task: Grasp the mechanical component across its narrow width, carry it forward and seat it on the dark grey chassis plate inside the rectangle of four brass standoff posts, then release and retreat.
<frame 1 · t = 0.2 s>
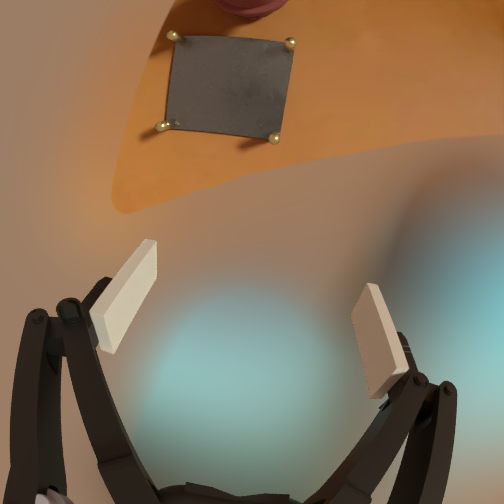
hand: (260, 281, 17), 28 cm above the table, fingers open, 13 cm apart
mechanical component: (255, 3, 27), on the table
chassis: (227, 83, 34), on the table
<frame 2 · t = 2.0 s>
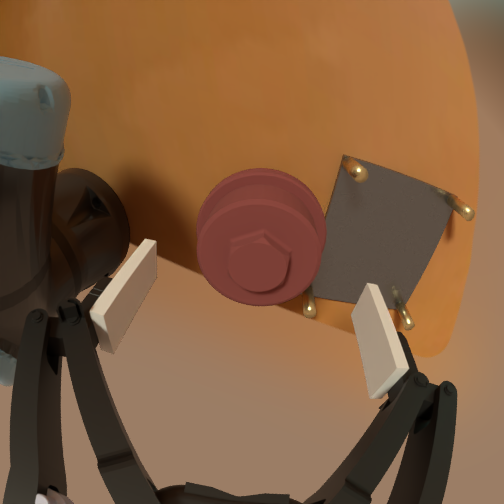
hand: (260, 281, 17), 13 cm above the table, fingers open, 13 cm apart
mechanical component: (264, 199, 28), on the table
chassis: (381, 244, 29), on the table
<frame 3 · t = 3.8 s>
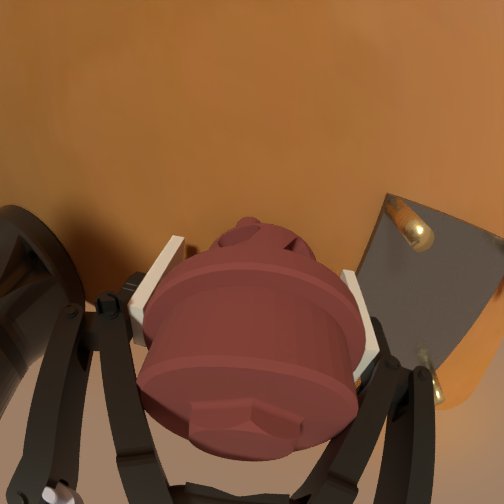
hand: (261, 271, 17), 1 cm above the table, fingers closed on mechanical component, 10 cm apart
mechanical component: (262, 259, 19), on the table, touching gripper
chassis: (420, 312, 20), on the table
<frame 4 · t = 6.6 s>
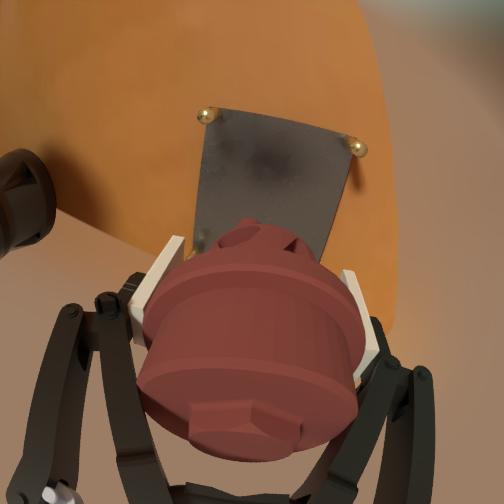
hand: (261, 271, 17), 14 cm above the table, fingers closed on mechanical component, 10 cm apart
mechanical component: (262, 260, 19), point 13 cm above the table, touching gripper
chassis: (268, 196, 29), on the table
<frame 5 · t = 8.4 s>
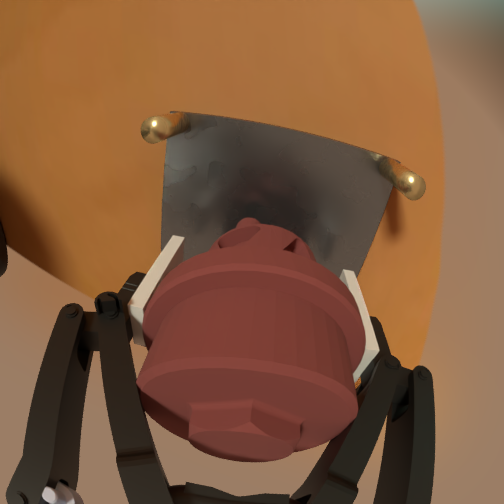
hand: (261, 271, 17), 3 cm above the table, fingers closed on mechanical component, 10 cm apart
mechanical component: (262, 260, 19), point 2 cm above the table, touching gripper
chassis: (263, 246, 20), on the table
when the fingers open (3 cm above the table, at t = 9.4 s): mechanical component drops 1 cm, resting on chassis.
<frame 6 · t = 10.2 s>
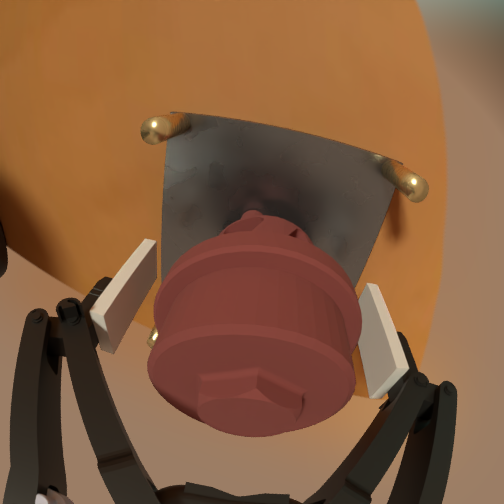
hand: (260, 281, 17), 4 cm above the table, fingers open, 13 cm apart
mechanical component: (265, 250, 20), resting on chassis
chassis: (264, 248, 20), on the table
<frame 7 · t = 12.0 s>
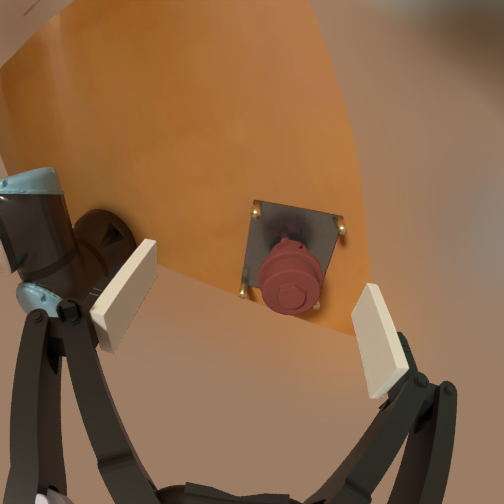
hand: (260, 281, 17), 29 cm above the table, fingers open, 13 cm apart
mechanical component: (289, 252, 49), resting on chassis
chassis: (289, 251, 49), on the table
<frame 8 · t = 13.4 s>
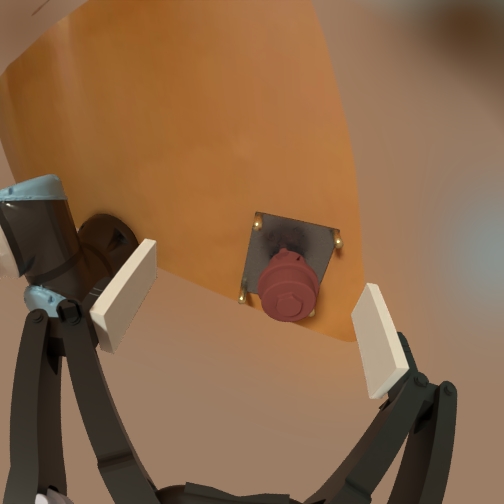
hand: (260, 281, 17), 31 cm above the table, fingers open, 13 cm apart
mechanical component: (287, 262, 51), resting on chassis
chassis: (287, 261, 52), on the table
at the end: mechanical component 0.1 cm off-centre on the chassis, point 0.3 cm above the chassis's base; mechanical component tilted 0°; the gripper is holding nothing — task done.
